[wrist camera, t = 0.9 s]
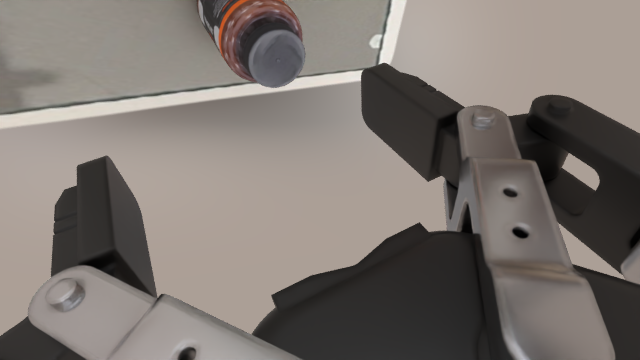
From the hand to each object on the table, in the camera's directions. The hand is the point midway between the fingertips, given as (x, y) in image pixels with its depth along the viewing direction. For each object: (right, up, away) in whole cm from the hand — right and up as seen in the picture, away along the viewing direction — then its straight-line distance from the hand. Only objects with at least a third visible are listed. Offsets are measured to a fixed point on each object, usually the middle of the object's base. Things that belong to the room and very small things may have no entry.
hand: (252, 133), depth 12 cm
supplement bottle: (-5, +14, +20) cm, 25 cm away
